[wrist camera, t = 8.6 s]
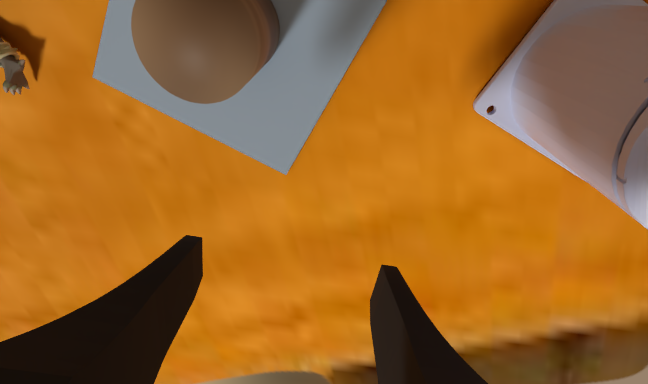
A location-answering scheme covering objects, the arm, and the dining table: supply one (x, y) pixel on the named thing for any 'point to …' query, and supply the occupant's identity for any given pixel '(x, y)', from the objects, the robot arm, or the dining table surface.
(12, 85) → the figurine
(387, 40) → the dining table surface
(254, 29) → the walnut cylinder
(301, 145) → the slate-blue mat
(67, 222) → the dining table surface
